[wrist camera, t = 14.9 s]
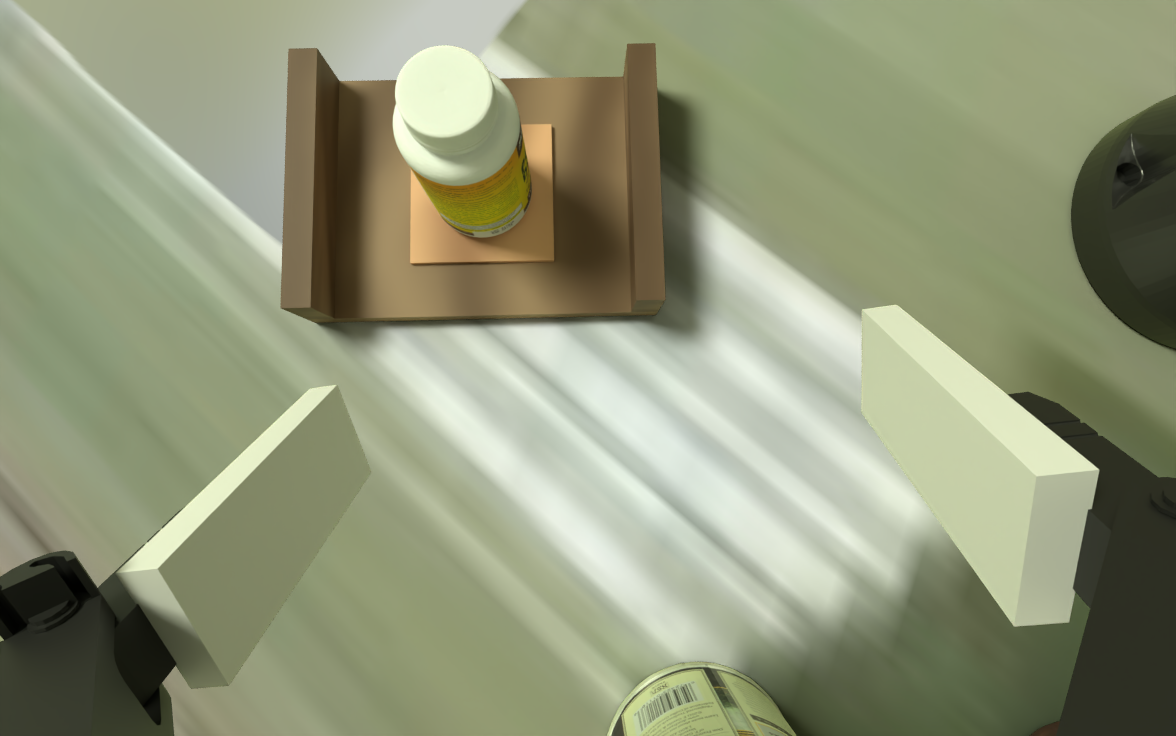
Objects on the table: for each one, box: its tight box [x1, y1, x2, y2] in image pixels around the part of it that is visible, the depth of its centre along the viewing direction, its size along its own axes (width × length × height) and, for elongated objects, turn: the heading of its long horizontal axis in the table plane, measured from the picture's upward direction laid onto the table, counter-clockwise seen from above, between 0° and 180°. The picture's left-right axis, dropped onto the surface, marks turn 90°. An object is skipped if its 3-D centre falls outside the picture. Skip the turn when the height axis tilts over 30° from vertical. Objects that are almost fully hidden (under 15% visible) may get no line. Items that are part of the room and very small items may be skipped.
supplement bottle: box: [393, 45, 532, 238], centre depth 29 cm, size 6×6×10 cm
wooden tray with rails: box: [281, 43, 666, 323], centre depth 33 cm, size 20×14×4 cm
